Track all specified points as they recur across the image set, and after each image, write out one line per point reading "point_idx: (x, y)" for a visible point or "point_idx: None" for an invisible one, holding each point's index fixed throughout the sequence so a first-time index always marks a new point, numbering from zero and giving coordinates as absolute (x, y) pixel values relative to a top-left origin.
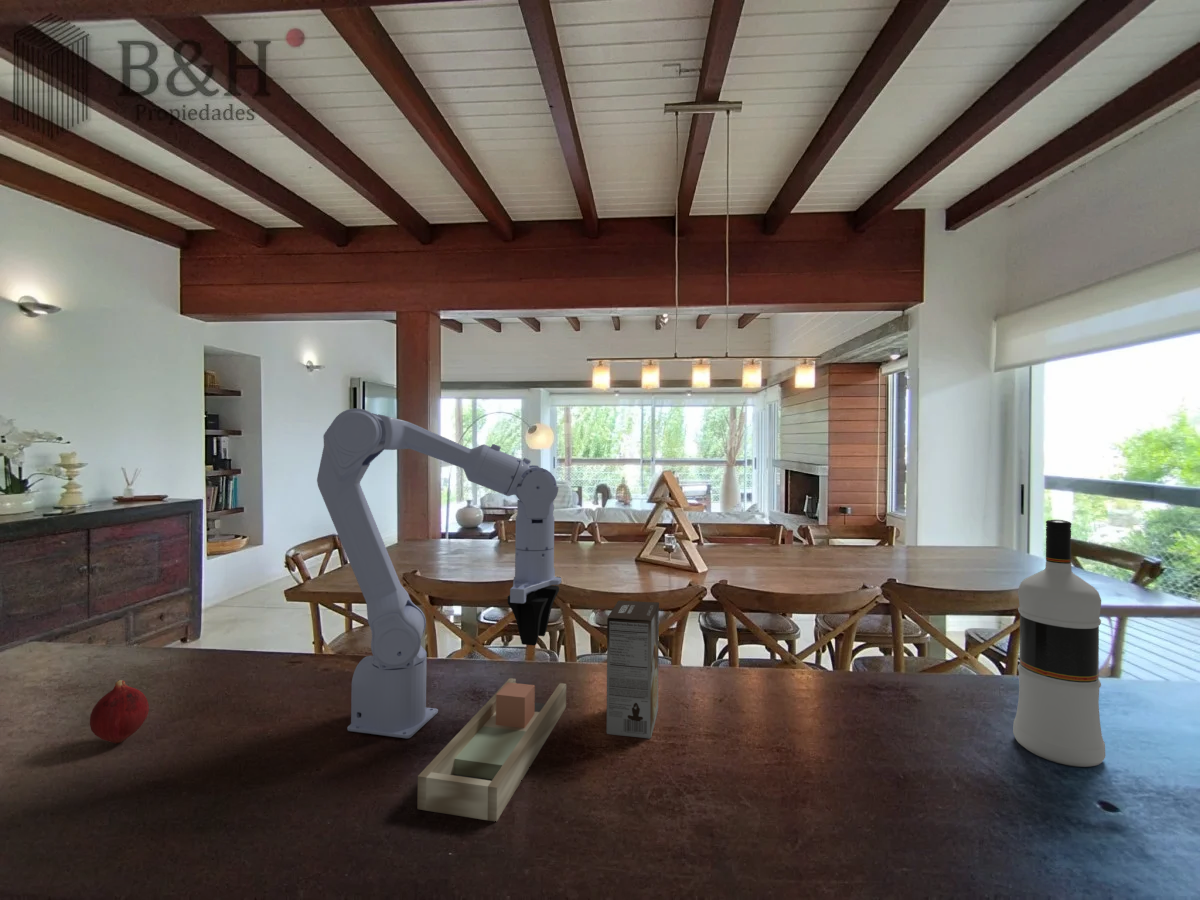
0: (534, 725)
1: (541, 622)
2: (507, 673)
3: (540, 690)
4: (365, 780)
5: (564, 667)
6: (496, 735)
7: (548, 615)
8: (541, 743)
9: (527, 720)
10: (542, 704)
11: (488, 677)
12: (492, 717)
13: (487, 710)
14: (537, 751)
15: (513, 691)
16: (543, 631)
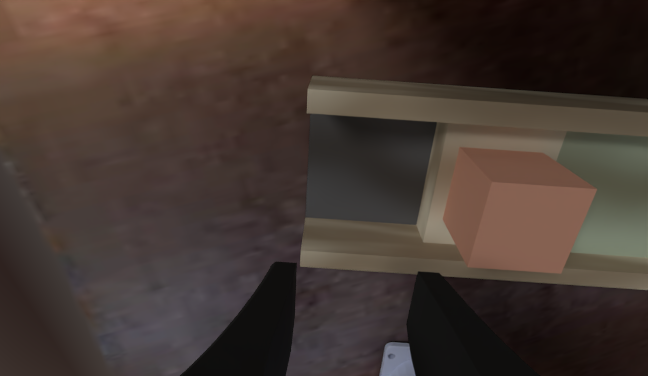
0: (624, 122)
1: (283, 330)
2: (148, 274)
3: (221, 172)
4: (626, 355)
5: (36, 140)
6: None
7: (262, 333)
8: (555, 94)
9: (525, 154)
10: (315, 145)
11: (188, 306)
12: None
13: None
14: (584, 95)
15: (542, 234)
16: (294, 281)
